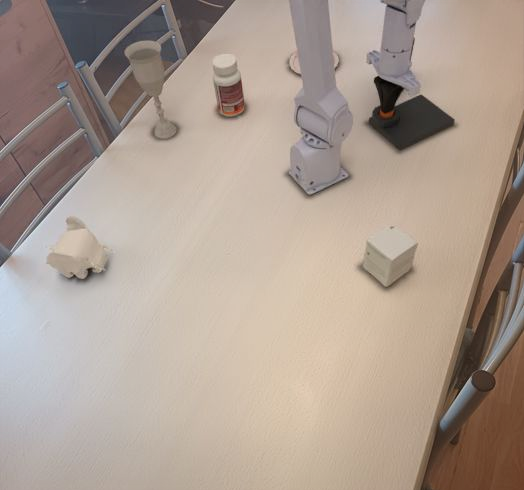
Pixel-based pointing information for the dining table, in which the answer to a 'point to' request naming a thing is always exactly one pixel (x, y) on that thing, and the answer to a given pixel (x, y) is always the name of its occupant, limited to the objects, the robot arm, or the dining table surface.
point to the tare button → (386, 114)
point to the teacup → (296, 66)
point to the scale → (411, 122)
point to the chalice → (150, 79)
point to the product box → (389, 254)
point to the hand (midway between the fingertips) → (386, 111)
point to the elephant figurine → (77, 251)
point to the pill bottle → (228, 85)
